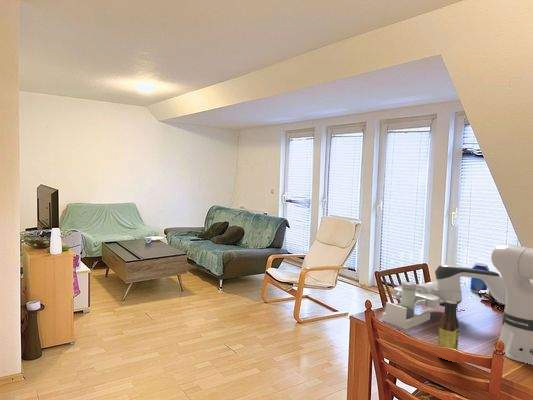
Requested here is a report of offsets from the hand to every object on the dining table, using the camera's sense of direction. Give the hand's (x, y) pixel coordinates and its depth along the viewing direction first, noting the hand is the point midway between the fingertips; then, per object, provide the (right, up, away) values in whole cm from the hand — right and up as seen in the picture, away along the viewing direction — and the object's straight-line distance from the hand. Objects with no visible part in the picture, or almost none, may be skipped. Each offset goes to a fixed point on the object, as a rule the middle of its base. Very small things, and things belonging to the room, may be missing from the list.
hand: (406, 299), depth 168 cm
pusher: (-3, -8, -2) cm, 9 cm away
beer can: (+59, -9, +51) cm, 78 cm away
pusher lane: (0, -9, +1) cm, 9 cm away
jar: (0, -9, +1) cm, 9 cm away
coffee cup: (+58, -10, +33) cm, 68 cm away
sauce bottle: (+2, -12, -33) cm, 35 cm away
